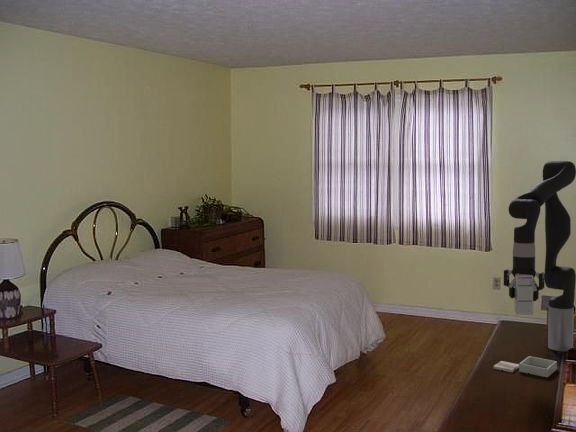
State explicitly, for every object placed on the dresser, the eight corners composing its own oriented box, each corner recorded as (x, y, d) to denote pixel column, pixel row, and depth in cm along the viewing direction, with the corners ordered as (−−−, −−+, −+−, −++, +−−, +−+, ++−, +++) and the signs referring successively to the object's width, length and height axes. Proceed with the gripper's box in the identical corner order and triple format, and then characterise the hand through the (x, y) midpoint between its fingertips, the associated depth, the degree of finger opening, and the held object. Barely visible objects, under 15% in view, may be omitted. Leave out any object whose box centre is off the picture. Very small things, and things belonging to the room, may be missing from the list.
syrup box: (533, 315, 218) (534, 275, 217) (516, 314, 219) (516, 274, 218) (530, 311, 224) (531, 272, 222) (513, 310, 225) (514, 271, 223)
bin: (529, 363, 229) (529, 356, 229) (556, 369, 223) (556, 361, 222) (519, 371, 222) (519, 363, 222) (547, 377, 215) (547, 369, 215)
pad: (501, 363, 231) (501, 360, 231) (519, 367, 226) (519, 364, 226) (493, 368, 226) (493, 365, 226) (512, 372, 221) (512, 369, 221)
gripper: (548, 254, 218) (547, 300, 219) (508, 251, 227) (507, 295, 228) (541, 257, 212) (540, 304, 214) (500, 254, 221) (500, 298, 223)
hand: (523, 299), depth 221 cm, fingers closed on syrup box, 7 cm apart
